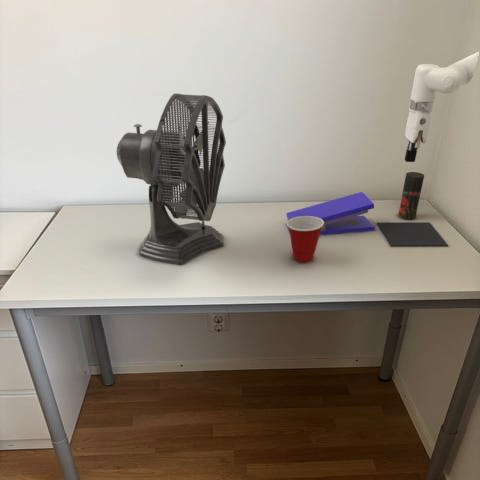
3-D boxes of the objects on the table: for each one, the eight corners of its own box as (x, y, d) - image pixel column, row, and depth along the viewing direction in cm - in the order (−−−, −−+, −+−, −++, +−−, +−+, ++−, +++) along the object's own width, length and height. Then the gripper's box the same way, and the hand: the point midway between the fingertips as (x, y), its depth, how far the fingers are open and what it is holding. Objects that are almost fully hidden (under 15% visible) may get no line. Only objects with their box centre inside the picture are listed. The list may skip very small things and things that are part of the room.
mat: (429, 223, 177) (429, 222, 176) (447, 246, 162) (447, 245, 162) (377, 223, 176) (377, 222, 176) (391, 246, 161) (391, 245, 161)
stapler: (375, 231, 171) (379, 202, 166) (294, 237, 167) (296, 208, 161) (361, 217, 180) (365, 190, 175) (284, 223, 176) (286, 195, 170)
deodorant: (417, 220, 179) (426, 177, 171) (400, 219, 179) (408, 177, 171) (413, 213, 184) (421, 172, 176) (396, 213, 184) (404, 171, 176)
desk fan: (267, 261, 152) (273, 100, 127) (163, 289, 139) (147, 114, 114) (215, 221, 177) (212, 79, 151) (123, 241, 163) (102, 88, 138)
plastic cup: (292, 247, 160) (295, 211, 154) (325, 255, 156) (329, 218, 149) (278, 262, 152) (280, 224, 146) (312, 270, 148) (316, 231, 141)
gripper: (439, 111, 164) (426, 168, 174) (424, 101, 176) (413, 155, 186) (416, 110, 164) (405, 167, 174) (403, 100, 176) (393, 154, 186)
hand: (409, 161), depth 180 cm, fingers closed
